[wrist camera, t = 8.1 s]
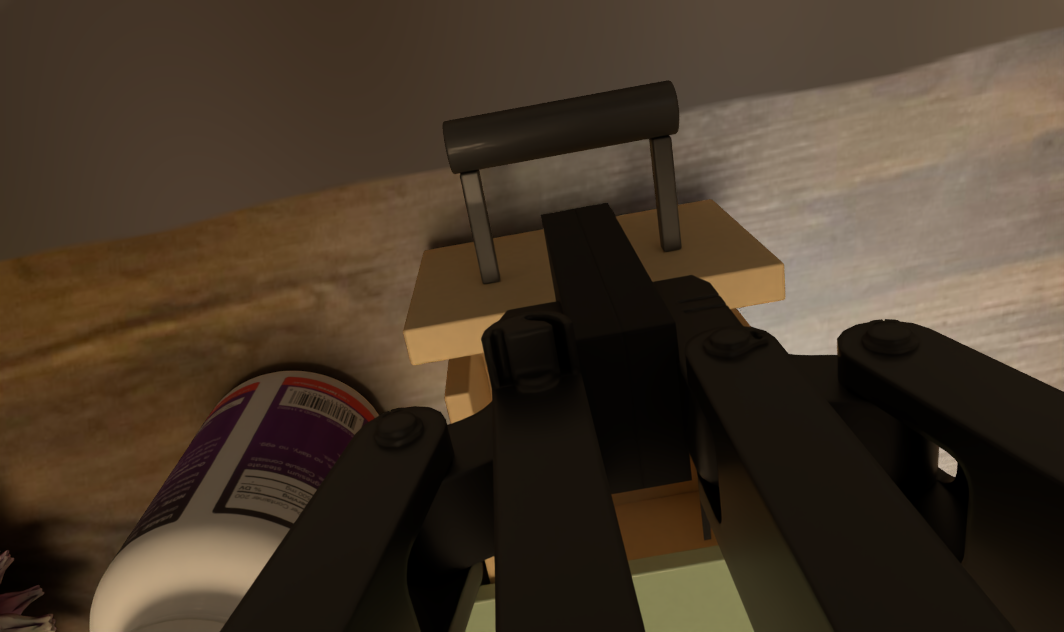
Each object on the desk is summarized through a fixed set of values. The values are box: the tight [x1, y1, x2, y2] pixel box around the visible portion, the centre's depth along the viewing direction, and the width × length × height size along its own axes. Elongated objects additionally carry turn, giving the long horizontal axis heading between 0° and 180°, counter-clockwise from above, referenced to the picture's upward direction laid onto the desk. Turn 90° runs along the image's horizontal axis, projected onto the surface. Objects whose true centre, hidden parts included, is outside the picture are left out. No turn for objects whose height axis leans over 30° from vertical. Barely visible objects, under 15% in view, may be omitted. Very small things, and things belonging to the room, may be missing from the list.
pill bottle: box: [90, 371, 379, 632], centre depth 27 cm, size 8×8×14 cm
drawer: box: [403, 81, 785, 584], centre depth 27 cm, size 19×11×8 cm, turn 10°
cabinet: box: [465, 545, 754, 632], centre depth 32 cm, size 15×13×10 cm
